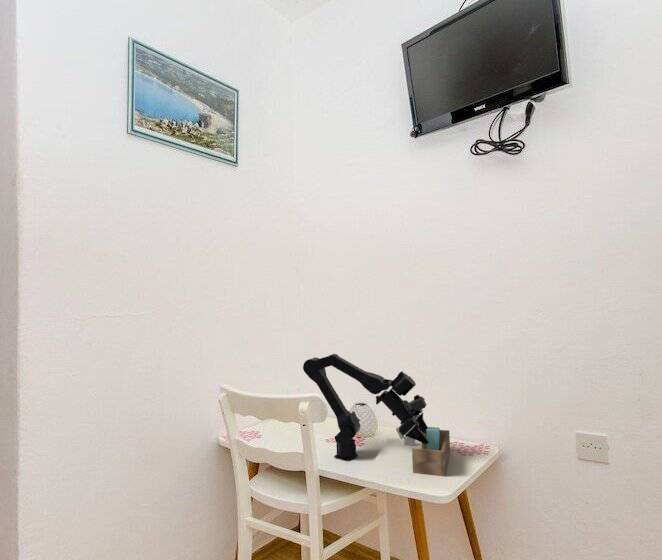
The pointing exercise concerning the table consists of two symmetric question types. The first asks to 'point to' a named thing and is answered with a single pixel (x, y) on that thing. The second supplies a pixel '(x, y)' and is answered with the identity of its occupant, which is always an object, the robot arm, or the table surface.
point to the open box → (432, 457)
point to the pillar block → (433, 438)
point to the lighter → (406, 439)
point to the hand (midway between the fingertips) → (429, 438)
